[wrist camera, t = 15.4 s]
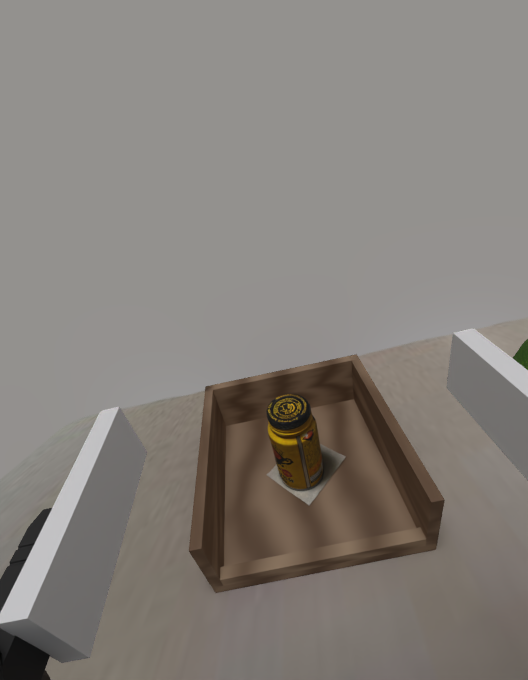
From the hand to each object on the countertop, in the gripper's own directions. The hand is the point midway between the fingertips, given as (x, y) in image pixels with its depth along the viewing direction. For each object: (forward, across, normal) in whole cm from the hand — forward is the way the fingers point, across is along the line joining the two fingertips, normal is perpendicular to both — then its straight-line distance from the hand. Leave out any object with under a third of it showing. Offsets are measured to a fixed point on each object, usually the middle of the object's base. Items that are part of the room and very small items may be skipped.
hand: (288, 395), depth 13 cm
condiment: (+18, 0, -30) cm, 35 cm away
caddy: (+18, -1, -31) cm, 36 cm away
